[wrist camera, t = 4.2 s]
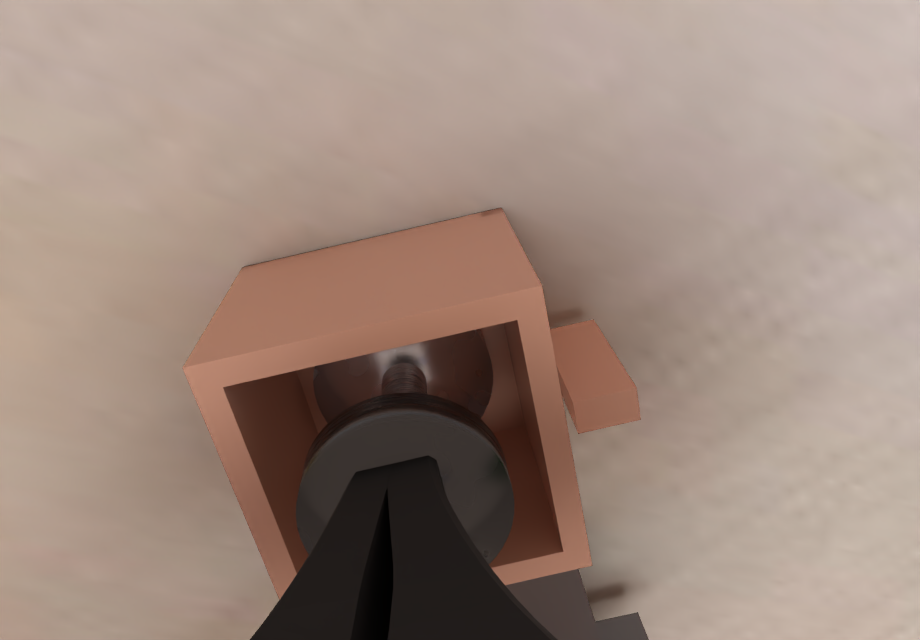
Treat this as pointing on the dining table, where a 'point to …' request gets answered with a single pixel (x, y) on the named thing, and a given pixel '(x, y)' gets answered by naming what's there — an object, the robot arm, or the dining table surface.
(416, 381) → the dark metallic spool
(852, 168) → the dining table surface
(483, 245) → the tan open box
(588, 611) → the gray open box
